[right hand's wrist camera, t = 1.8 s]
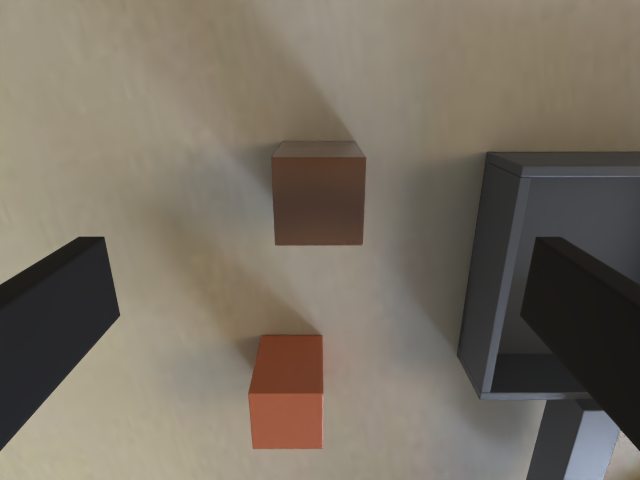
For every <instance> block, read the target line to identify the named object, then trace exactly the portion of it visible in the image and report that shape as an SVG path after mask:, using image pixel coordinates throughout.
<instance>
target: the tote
mask: <svg viewBox="0 0 640 480" xmlns="http://www.w3.org/2000/svg"><path fill="white" fill-rule="evenodd" d="M536 237H562V238H564V239H566V240H567V241H569V242H570V243H572V244H574V245H575V246H577V247H579V248H580V249H582V250H584V251H585V252H587V253H588V254H590V255H592V256H593V257H595V258H597V259H598V260H600V261H602V262H603V263H605V264H606V265H608V266H610V267H611V268H613V269H615V270H616V271H618V272H620V273H621V274H623V275H624V276H626V277H628V278H629V279H631V280H633V281H634V282H636V283H638V284H639V285H640V152H487V157H486V164H485V171H484V177H483V184H482V191H481V198H480V204H479V211H478V218H477V225H476V231H475V238H474V245H473V252H472V258H471V265H470V272H469V278H468V285H467V292H466V299H465V305H464V312H463V319H462V326H461V332H460V339H459V346H458V352H457V356H458V358H459V360H460V362H461V364H462V366H463V368H464V370H465V372H466V374H467V376H468V378H469V380H470V381H471V383H472V385H473V387H474V389H475V391H476V393H477V395H478V397H479V399H480V400H547V401H546V405H545V409H544V413H543V417H542V421H541V425H540V428H539V432H538V436H537V440H536V444H535V448H534V452H533V455H532V459H531V463H530V467H529V471H528V475H527V479H526V480H603V478H604V475H605V472H606V470H607V467H608V464H609V461H610V458H611V455H612V453H613V450H614V447H615V444H616V441H617V439H618V436H619V433H620V430H621V429H620V428H619V427H618V426H617V425H616V424H615V423H614V421H613V420H612V419H611V418H610V417H609V416H608V415H607V414H606V412H605V411H604V410H603V409H602V408H601V407H600V406H599V405H598V403H597V402H596V401H595V400H594V399H593V398H592V397H591V395H590V394H589V393H588V392H587V391H586V390H585V389H584V388H583V386H582V385H581V384H580V383H579V382H578V381H577V380H576V379H575V377H574V376H573V375H572V374H571V373H570V372H569V371H568V369H567V368H566V367H565V366H564V365H563V364H562V363H561V362H560V360H559V359H558V358H557V357H556V356H555V355H554V354H553V353H552V351H551V350H550V349H549V348H548V347H547V346H546V345H545V343H544V342H543V341H542V340H541V339H540V338H539V337H538V336H537V334H536V333H535V332H534V331H533V330H532V329H531V328H530V327H529V325H528V324H527V323H526V322H525V321H524V320H523V319H522V317H521V316H520V312H521V307H522V302H523V297H524V292H525V287H526V282H527V278H528V273H529V268H530V263H531V258H532V253H533V248H534V243H535V238H536Z"/></svg>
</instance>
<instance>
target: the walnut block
mask: <svg viewBox="0 0 640 480" xmlns="http://www.w3.org/2000/svg"><path fill="white" fill-rule="evenodd" d="M271 163H272V186H273V208H274V231H275V245H363V224H364V200H365V175H366V157H365V155H364V154H363V152H362V151H361V149H360V148H359V146H358V145H357V143H356V142H355V141H283V142H282V143H281V144H280V146H279V147H278V149H277V150H276V152H275V153H274V155H273V156H272V158H271Z"/></svg>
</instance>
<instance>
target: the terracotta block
mask: <svg viewBox="0 0 640 480" xmlns="http://www.w3.org/2000/svg"><path fill="white" fill-rule="evenodd" d="M248 395H249V408H250V420H251V432H252V444H253V449H323V336H322V335H262V336H261V341H260V345H259V349H258V354H257V358H256V362H255V367H254V371H253V375H252V380H251V384H250V388H249V393H248Z"/></svg>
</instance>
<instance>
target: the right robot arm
mask: <svg viewBox="0 0 640 480" xmlns="http://www.w3.org/2000/svg"><path fill="white" fill-rule="evenodd" d="M119 316H120V312H119V307H118V302H117V297H116V292H115V287H114V282H113V278H112V273H111V268H110V263H109V258H108V253H107V248H106V243H105V238H104V237H78V238H76V239H74V240H73V241H71V242H70V243H68V244H66V245H65V246H63V247H61V248H60V249H58V250H56V251H55V252H53V253H52V254H50V255H48V256H47V257H45V258H43V259H42V260H40V261H38V262H37V263H35V264H34V265H32V266H30V267H29V268H27V269H25V270H24V271H22V272H20V273H19V274H17V275H16V276H14V277H12V278H11V279H9V280H7V281H6V282H4V283H2V284H1V285H0V451H1V450H2V449H3V447H4V446H5V445H6V444H7V443H8V442H9V441H10V440H11V438H12V437H13V436H14V435H15V434H16V433H17V432H18V431H19V429H20V428H21V427H22V426H23V425H24V424H25V423H26V421H27V420H28V419H29V418H30V417H31V416H32V415H33V414H34V412H35V411H36V410H37V409H38V408H39V407H40V406H41V405H42V403H43V402H44V401H45V400H46V399H47V398H48V397H49V395H50V394H51V393H52V392H53V391H54V390H55V389H56V388H57V386H58V385H59V384H60V383H61V382H62V381H63V380H64V379H65V377H66V376H67V375H68V374H69V373H70V372H71V371H72V369H73V368H74V367H75V366H76V365H77V364H78V363H79V362H80V360H81V359H82V358H83V357H84V356H85V355H86V354H87V353H88V351H89V350H90V349H91V348H92V347H93V346H94V345H95V343H96V342H97V341H98V340H99V339H100V338H101V337H102V336H103V334H104V333H105V332H106V331H107V330H108V329H109V328H110V327H111V325H112V324H113V323H114V322H115V321H116V320H117V319H118V317H119ZM520 316H521V317H522V319H523V320H524V321H525V322H526V323H527V324H528V325H529V327H530V328H531V329H532V330H533V331H534V332H535V333H536V334H537V336H538V337H539V338H540V339H541V340H542V341H543V342H544V343H545V345H546V346H547V347H548V348H549V349H550V350H551V351H552V353H553V354H554V355H555V356H556V357H557V358H558V359H559V360H560V362H561V363H562V364H563V365H564V366H565V367H566V368H567V369H568V371H569V372H570V373H571V374H572V375H573V376H574V377H575V379H576V380H577V381H578V382H579V383H580V384H581V385H582V386H583V388H584V389H585V390H586V391H587V392H588V393H589V394H590V395H591V397H592V398H593V399H594V400H595V401H596V402H597V403H598V405H599V406H600V407H601V408H602V409H603V410H604V411H605V412H606V414H607V415H608V416H609V417H610V418H611V419H612V420H613V421H614V423H615V424H616V425H617V426H618V427H619V428H620V429H621V431H622V432H623V433H624V434H625V435H626V436H627V437H628V438H629V440H630V441H631V442H632V443H633V444H634V445H635V446H636V448H637V449H638V450H639V451H640V285H639V284H638V283H636V282H634V281H633V280H631V279H629V278H628V277H626V276H624V275H623V274H621V273H620V272H618V271H616V270H615V269H613V268H611V267H610V266H608V265H606V264H605V263H603V262H602V261H600V260H598V259H597V258H595V257H593V256H592V255H590V254H588V253H587V252H585V251H584V250H582V249H580V248H579V247H577V246H575V245H574V244H572V243H570V242H569V241H567V240H566V239H564V238H562V237H536V238H535V243H534V248H533V253H532V258H531V263H530V268H529V273H528V278H527V282H526V287H525V292H524V297H523V302H522V307H521V312H520Z"/></svg>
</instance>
